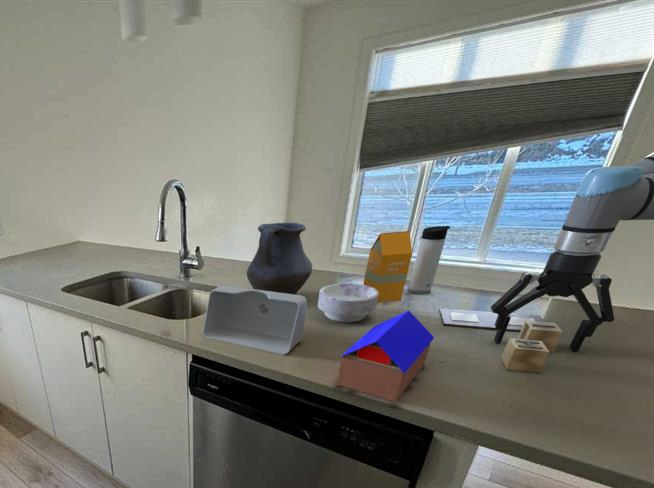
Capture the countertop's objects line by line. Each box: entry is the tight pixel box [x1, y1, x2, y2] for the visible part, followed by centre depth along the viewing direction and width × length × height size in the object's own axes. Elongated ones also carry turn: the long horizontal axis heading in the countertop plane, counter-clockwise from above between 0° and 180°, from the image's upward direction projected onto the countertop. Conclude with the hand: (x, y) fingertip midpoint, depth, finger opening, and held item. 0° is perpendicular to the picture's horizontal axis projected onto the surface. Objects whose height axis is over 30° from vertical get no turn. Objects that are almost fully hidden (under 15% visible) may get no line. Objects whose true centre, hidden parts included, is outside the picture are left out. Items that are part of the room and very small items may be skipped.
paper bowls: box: [317, 282, 379, 323], centre depth 115 cm, size 15×15×8 cm
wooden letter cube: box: [500, 337, 550, 374], centre depth 85 cm, size 5×5×5 cm
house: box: [336, 310, 435, 402], centre depth 85 cm, size 12×20×12 cm, turn 135°
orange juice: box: [362, 230, 413, 303], centre depth 123 cm, size 8×9×20 cm
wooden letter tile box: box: [517, 321, 564, 353], centre depth 92 cm, size 5×5×5 cm
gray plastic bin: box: [202, 284, 308, 356], centre depth 109 cm, size 25×16×12 cm, turn 51°
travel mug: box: [407, 225, 451, 295], centre depth 125 cm, size 6×7×20 cm
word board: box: [438, 307, 545, 333], centre depth 106 cm, size 22×12×1 cm, turn 62°
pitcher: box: [246, 222, 313, 295], centre depth 129 cm, size 21×22×25 cm
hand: (534, 345), depth 93 cm, fingers open, 13 cm apart
